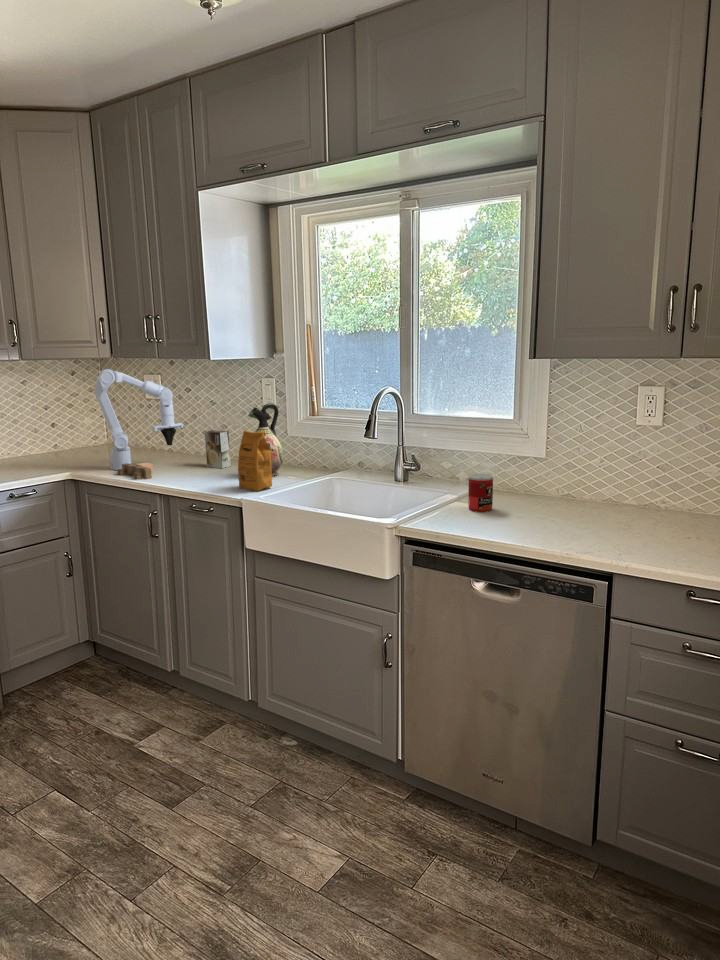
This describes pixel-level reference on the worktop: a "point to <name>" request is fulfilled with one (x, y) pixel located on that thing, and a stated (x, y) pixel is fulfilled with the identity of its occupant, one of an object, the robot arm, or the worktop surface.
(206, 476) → the worktop surface
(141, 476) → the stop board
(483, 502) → the canned food
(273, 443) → the ceramic jug
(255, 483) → the coffee package
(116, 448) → the robot arm
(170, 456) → the worktop surface
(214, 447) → the coffee box
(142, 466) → the terracotta block
